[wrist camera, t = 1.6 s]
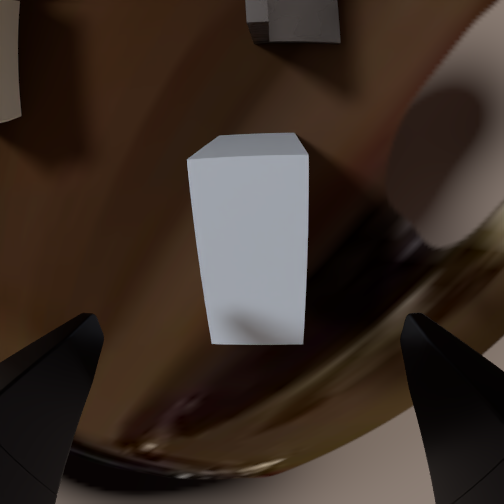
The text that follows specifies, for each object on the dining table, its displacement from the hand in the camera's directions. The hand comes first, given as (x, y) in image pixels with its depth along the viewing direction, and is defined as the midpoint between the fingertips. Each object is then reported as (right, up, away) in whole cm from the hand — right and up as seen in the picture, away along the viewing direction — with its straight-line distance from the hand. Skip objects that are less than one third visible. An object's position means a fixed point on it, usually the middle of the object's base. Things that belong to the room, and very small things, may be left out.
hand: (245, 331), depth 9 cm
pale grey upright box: (+1, +5, +10) cm, 11 cm away
